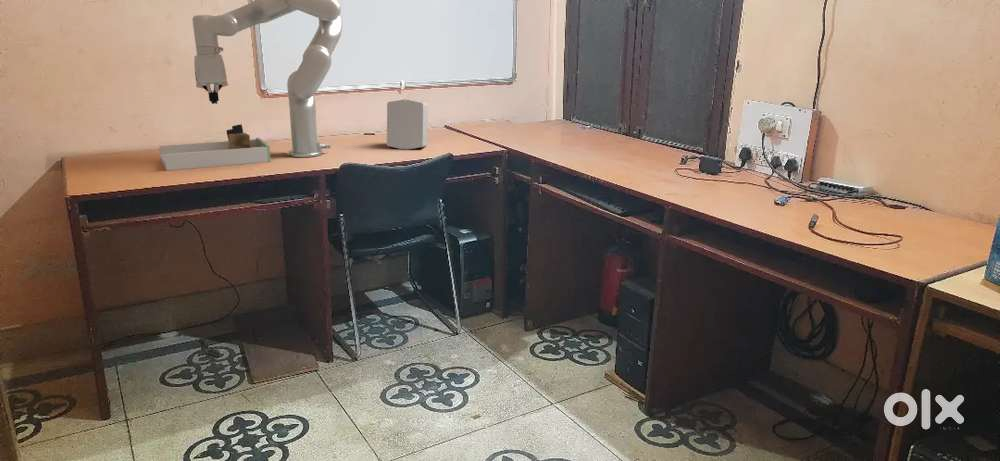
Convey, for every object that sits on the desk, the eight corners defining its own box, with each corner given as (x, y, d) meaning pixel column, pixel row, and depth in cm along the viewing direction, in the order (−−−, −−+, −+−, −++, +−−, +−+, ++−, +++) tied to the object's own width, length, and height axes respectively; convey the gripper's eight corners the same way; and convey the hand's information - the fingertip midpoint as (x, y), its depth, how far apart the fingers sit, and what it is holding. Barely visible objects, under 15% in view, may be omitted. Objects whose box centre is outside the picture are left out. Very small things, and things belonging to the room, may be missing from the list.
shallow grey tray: (259, 153, 279) (258, 137, 277) (270, 161, 264) (269, 145, 262) (161, 160, 262) (159, 144, 260) (166, 170, 247) (164, 153, 245)
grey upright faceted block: (429, 148, 305) (430, 100, 302) (422, 150, 290) (423, 99, 287) (395, 147, 306) (395, 99, 303) (386, 149, 291) (387, 98, 288)
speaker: (251, 150, 283) (246, 123, 280) (238, 152, 279) (232, 126, 276) (240, 149, 288) (235, 123, 285) (227, 152, 284) (222, 125, 281)
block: (246, 148, 274) (244, 132, 272) (250, 151, 270) (249, 135, 268) (229, 149, 271) (228, 134, 269) (234, 152, 266) (232, 136, 264)
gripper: (227, 49, 262) (233, 100, 268) (183, 51, 255) (190, 103, 261) (231, 51, 256) (237, 103, 262) (186, 52, 249) (193, 106, 255)
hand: (214, 103), depth 261 cm, fingers closed
